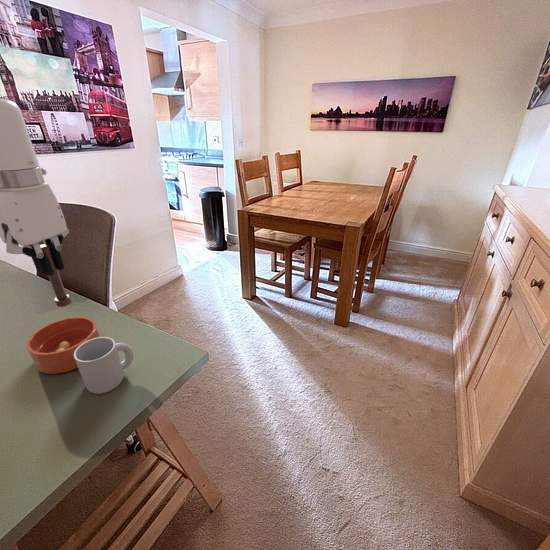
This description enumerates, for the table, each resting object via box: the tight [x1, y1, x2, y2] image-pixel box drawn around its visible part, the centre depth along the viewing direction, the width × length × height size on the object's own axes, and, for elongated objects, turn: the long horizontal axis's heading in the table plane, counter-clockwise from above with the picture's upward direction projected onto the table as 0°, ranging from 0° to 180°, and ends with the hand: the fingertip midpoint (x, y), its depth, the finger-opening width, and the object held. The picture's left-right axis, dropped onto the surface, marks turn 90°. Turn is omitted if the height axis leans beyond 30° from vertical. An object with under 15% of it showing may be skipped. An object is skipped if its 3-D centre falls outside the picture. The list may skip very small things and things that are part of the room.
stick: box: [40, 243, 73, 308], centre depth 62 cm, size 3×3×14 cm
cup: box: [74, 336, 134, 395], centre depth 62 cm, size 7×10×9 cm
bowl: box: [25, 316, 101, 375], centre depth 69 cm, size 13×13×6 cm
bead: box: [59, 341, 70, 349], centre depth 70 cm, size 2×2×2 cm
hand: (52, 270), depth 62 cm, fingers closed on stick
